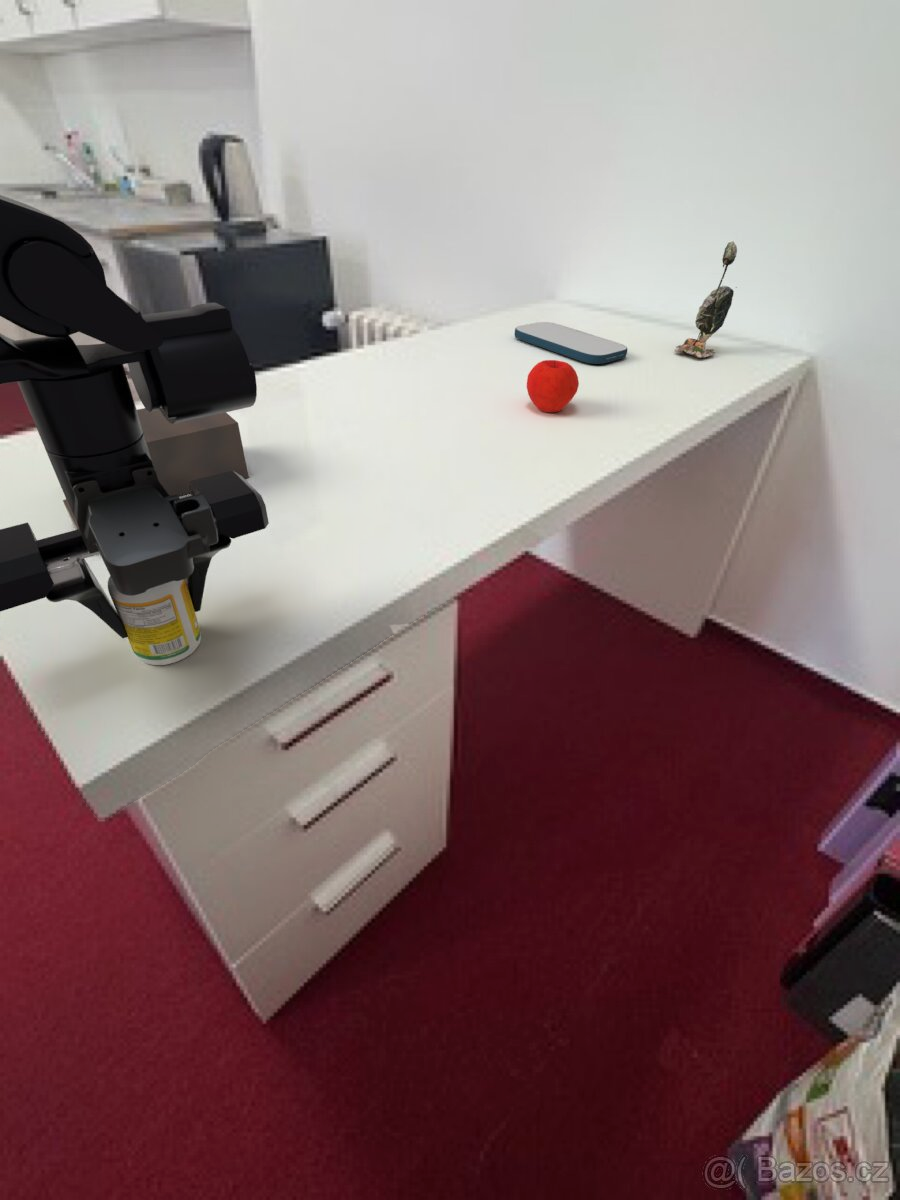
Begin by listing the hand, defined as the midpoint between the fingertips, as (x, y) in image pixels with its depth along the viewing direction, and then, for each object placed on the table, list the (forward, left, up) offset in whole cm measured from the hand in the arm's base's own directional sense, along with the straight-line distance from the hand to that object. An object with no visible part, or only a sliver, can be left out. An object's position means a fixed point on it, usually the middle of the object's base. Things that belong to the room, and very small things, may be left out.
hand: (160, 621), depth 48 cm
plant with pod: (+113, +27, -3) cm, 116 cm away
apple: (+65, +21, -3) cm, 68 cm away
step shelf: (+7, +26, -2) cm, 27 cm away
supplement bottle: (0, 0, -3) cm, 3 cm away
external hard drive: (+92, +43, -3) cm, 102 cm away
